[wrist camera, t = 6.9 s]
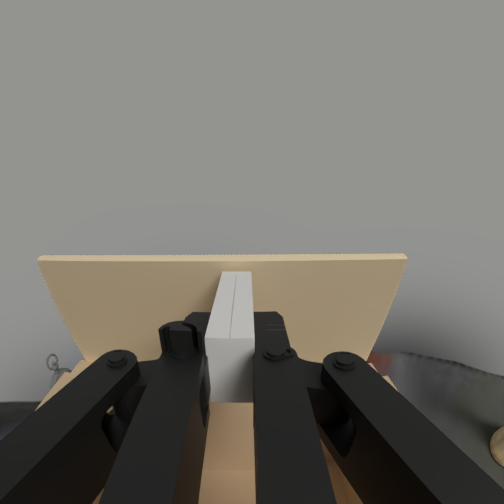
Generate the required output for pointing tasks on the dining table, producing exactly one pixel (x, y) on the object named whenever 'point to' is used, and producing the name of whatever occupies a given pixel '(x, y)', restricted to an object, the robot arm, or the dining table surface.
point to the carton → (232, 453)
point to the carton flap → (204, 291)
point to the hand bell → (498, 446)
